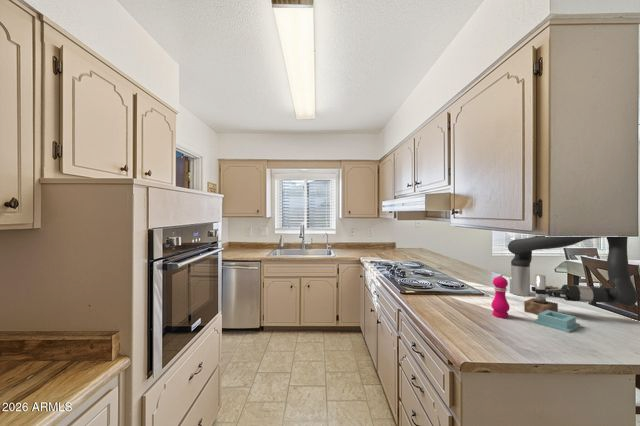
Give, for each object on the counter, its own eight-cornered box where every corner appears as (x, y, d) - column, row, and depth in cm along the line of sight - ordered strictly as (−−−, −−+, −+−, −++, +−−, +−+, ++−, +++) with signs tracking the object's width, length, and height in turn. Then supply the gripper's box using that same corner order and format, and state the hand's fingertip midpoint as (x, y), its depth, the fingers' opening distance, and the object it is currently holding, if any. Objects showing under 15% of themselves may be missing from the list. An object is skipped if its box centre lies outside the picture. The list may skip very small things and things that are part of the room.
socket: (534, 322, 122) (534, 313, 122) (545, 317, 128) (545, 308, 128) (568, 332, 112) (568, 322, 112) (579, 326, 118) (579, 317, 118)
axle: (534, 311, 136) (533, 275, 136) (537, 310, 138) (537, 274, 138) (543, 314, 132) (543, 276, 132) (547, 312, 134) (547, 275, 134)
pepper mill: (489, 316, 130) (489, 273, 130) (493, 312, 135) (493, 271, 136) (508, 320, 125) (507, 276, 125) (510, 315, 131) (510, 273, 131)
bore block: (524, 311, 137) (524, 301, 137) (533, 307, 142) (533, 298, 142) (549, 317, 128) (549, 306, 128) (557, 313, 133) (557, 303, 133)
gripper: (568, 281, 137) (527, 279, 143) (585, 289, 124) (539, 286, 129) (568, 296, 137) (528, 293, 143) (585, 305, 124) (540, 302, 129)
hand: (534, 290), depth 136 cm, fingers closed on axle, 4 cm apart
